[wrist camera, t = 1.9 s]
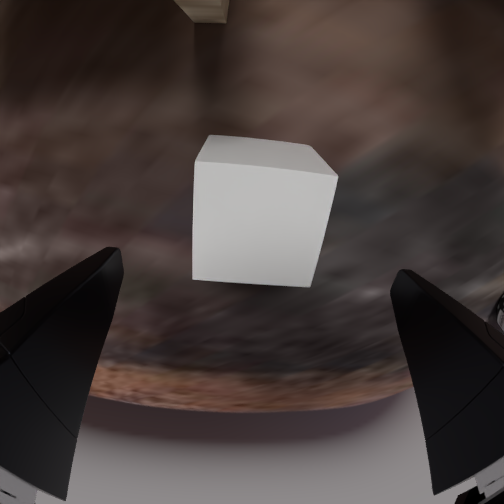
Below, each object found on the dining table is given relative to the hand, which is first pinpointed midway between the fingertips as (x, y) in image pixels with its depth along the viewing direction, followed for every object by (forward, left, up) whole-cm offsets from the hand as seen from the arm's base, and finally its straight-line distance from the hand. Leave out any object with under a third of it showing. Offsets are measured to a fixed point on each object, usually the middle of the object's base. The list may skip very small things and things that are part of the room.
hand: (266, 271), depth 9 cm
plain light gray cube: (0, 0, -8) cm, 8 cm away
